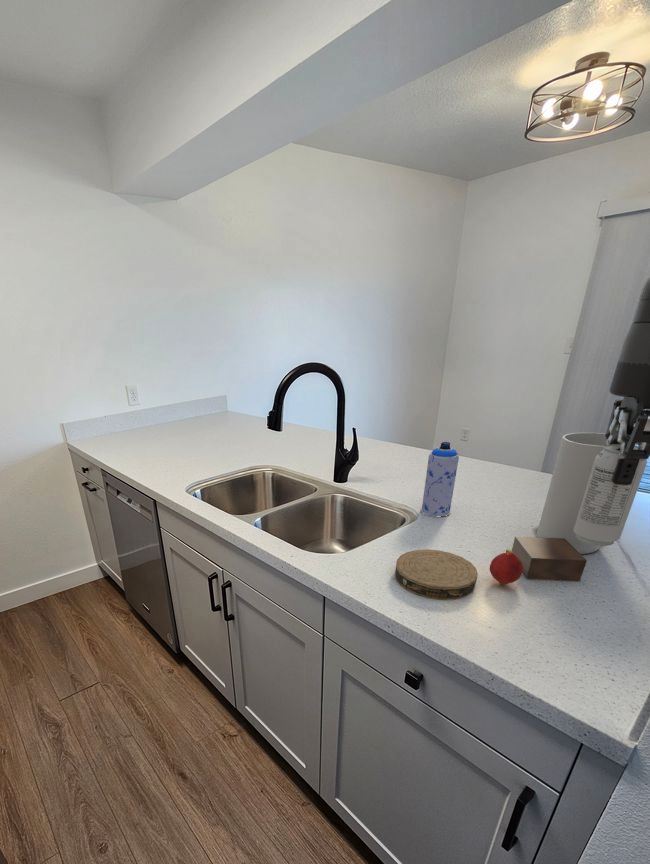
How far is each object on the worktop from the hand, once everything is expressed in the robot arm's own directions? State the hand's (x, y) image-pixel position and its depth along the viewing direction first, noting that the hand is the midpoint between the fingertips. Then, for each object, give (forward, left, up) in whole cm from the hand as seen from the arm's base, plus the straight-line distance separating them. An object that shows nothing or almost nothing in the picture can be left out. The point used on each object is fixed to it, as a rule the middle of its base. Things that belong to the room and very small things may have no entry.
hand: (615, 476), depth 66 cm
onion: (+10, -10, -27) cm, 31 cm away
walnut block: (+2, -20, -27) cm, 34 cm away
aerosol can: (+26, -45, -27) cm, 59 cm away
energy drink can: (0, 0, -11) cm, 11 cm away
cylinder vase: (-4, -35, -27) cm, 45 cm away
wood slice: (+23, -7, -27) cm, 36 cm away
